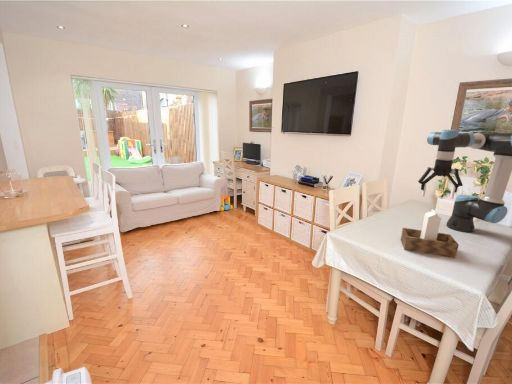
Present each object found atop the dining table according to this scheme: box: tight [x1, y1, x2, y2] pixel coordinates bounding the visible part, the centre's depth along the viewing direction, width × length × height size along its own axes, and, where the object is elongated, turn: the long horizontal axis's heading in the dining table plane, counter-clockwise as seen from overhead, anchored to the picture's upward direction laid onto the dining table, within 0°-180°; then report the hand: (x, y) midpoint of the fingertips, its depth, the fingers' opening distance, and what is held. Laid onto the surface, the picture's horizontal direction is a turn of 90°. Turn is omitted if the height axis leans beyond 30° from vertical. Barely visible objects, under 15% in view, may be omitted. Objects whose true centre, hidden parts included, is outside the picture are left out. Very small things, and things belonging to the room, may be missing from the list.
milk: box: [420, 208, 442, 241], centre depth 142 cm, size 6×6×22 cm
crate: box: [400, 227, 460, 259], centre depth 144 cm, size 24×14×8 cm, turn 68°
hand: (437, 196), depth 142 cm, fingers open, 13 cm apart
